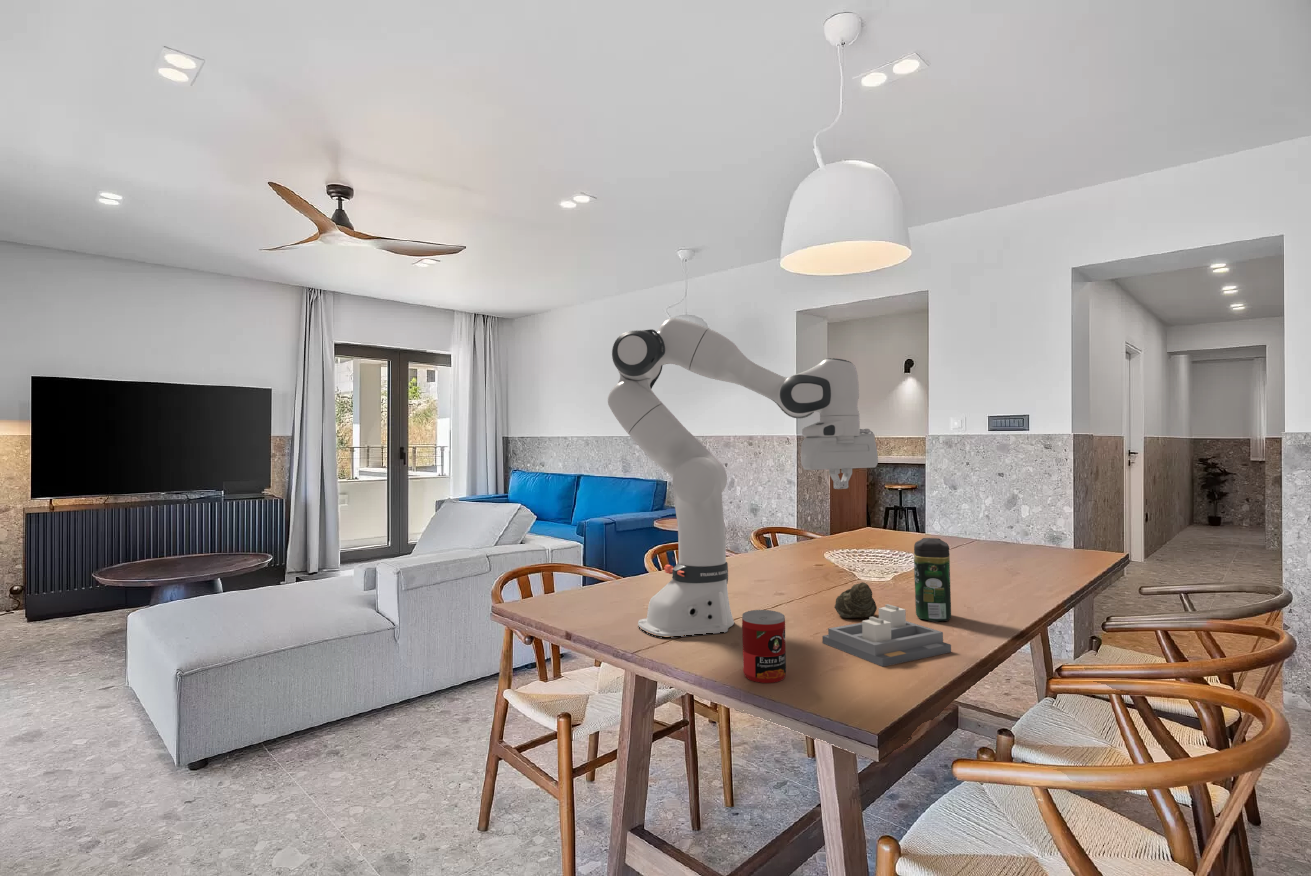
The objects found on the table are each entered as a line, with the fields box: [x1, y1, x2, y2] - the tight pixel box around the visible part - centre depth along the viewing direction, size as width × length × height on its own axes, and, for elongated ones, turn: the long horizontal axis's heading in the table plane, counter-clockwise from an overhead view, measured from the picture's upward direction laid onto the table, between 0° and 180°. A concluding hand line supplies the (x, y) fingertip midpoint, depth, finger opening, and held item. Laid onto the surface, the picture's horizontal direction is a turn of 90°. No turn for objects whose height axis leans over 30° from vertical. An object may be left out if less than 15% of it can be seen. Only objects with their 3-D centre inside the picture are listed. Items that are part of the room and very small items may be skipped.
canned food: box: [741, 609, 787, 684], centre depth 122 cm, size 8×8×11 cm
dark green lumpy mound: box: [834, 582, 878, 619], centre depth 162 cm, size 11×12×10 cm
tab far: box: [878, 603, 907, 628], centre depth 142 cm, size 4×4×6 cm
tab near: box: [861, 616, 891, 643], centre depth 132 cm, size 4×4×6 cm
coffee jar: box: [913, 537, 952, 623], centre depth 159 cm, size 10×8×19 cm
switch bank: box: [821, 620, 952, 667], centre depth 137 cm, size 18×17×4 cm
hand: (841, 488), depth 155 cm, fingers closed
